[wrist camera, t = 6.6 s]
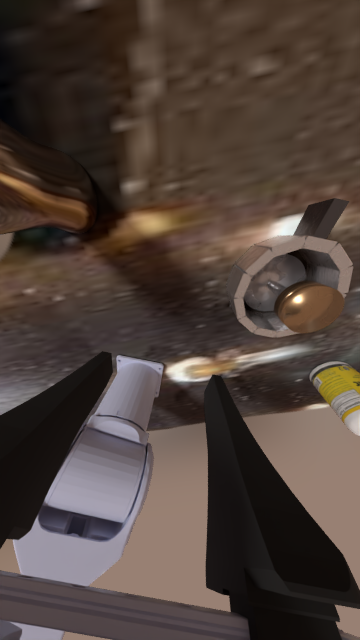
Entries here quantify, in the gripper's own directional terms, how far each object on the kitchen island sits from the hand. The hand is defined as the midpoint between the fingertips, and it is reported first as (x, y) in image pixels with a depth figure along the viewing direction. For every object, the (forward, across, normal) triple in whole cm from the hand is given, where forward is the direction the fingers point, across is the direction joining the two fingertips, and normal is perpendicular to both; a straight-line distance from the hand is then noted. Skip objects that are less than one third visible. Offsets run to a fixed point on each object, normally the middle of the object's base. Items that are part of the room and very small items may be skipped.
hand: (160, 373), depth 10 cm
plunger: (+10, -9, -6) cm, 15 cm away
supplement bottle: (+10, -25, +5) cm, 27 cm away
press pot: (+10, -9, -7) cm, 16 cm away
